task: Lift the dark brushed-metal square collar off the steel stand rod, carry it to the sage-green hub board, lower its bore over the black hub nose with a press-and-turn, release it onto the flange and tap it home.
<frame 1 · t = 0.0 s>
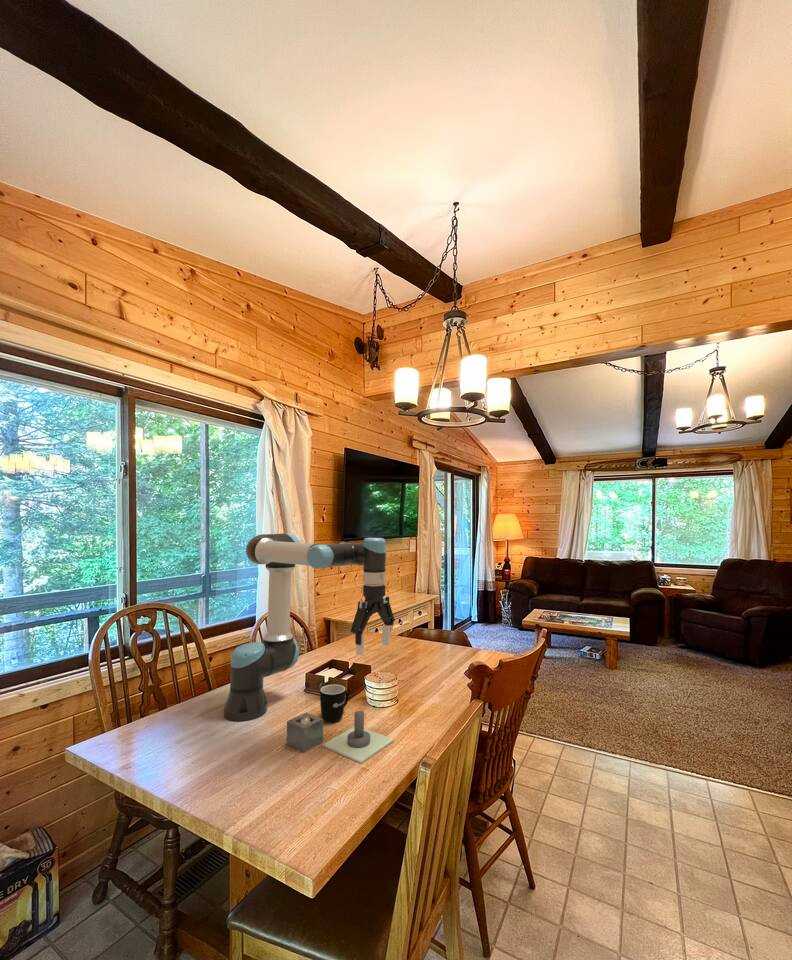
hand: (373, 649, 143), 28 cm above the table, fingers open, 13 cm apart
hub: (358, 743, 137), on the table
collar: (304, 743, 138), on the table
mug: (335, 717, 156), on the table
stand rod: (304, 743, 138), on the table
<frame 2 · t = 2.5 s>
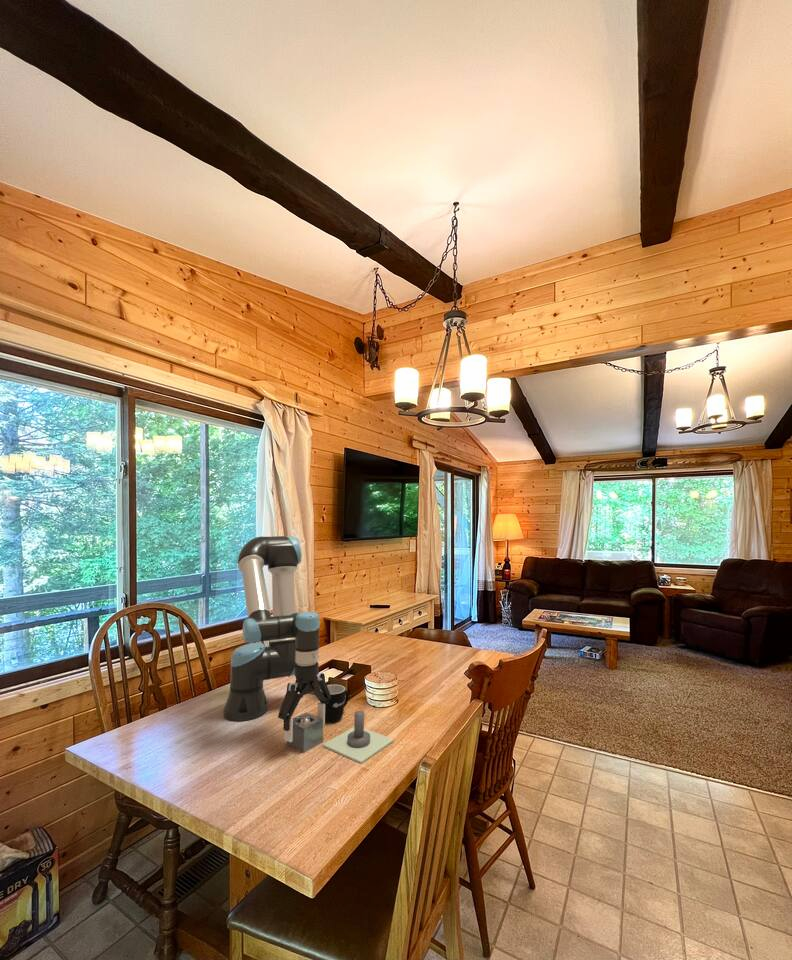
hand: (305, 732, 138), 3 cm above the table, fingers open, 13 cm apart
nothing on the table moved.
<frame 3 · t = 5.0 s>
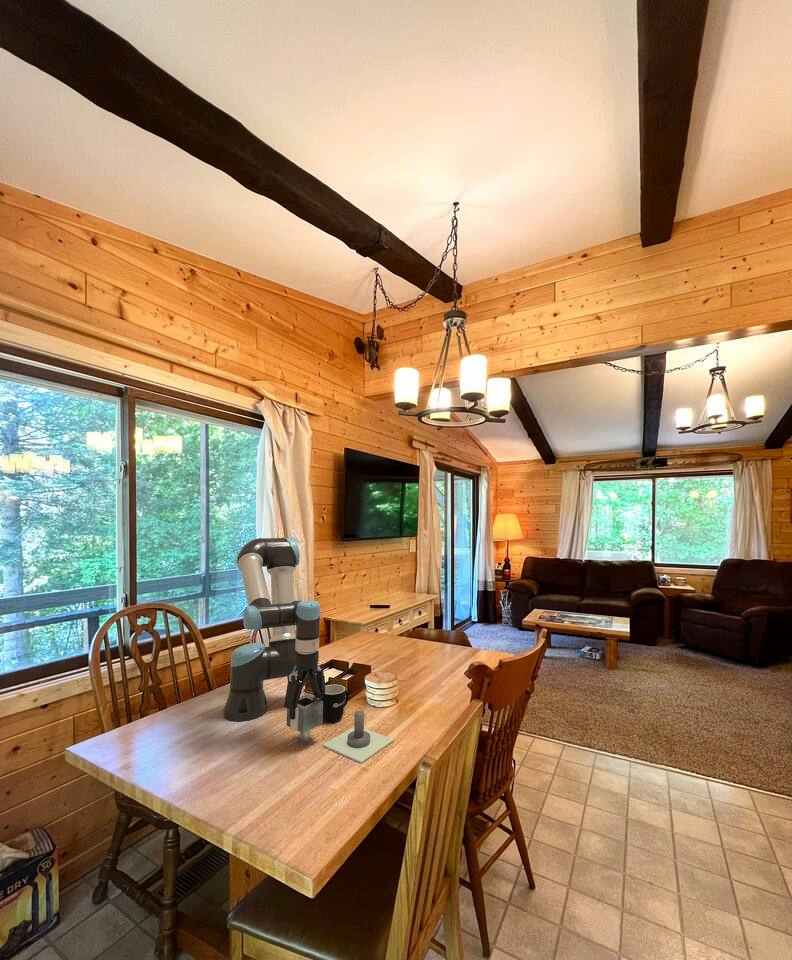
hand: (304, 723, 139), 6 cm above the table, fingers closed on collar, 8 cm apart
collar: (304, 724, 139), point 5 cm above the table, touching gripper
everything else where it was.
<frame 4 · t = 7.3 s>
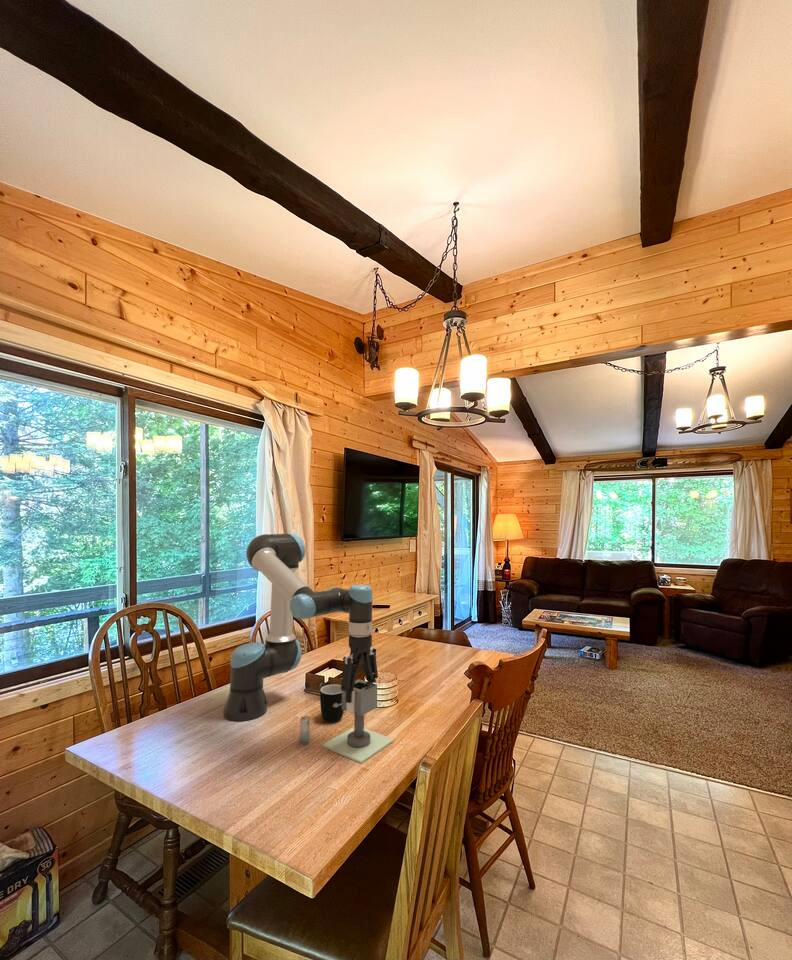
hand: (359, 707, 138), 11 cm above the table, fingers closed on collar, 8 cm apart
collar: (359, 708, 138), point 11 cm above the table, touching gripper
everything else where it was.
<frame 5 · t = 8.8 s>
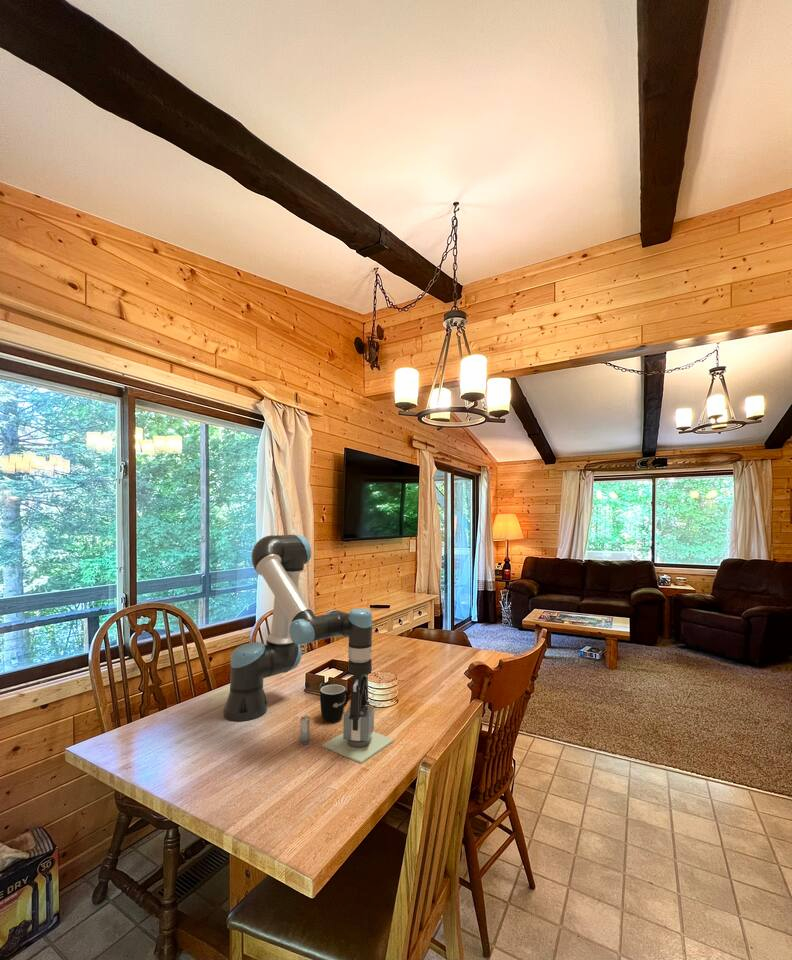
hand: (359, 733, 138), 3 cm above the table, fingers closed on collar, 8 cm apart
collar: (358, 733, 138), point 3 cm above the table, touching gripper
everything else where it was.
when the fingers open (3 cm above the table, at t = 9.7 s): collar stays where it is, resting on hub.
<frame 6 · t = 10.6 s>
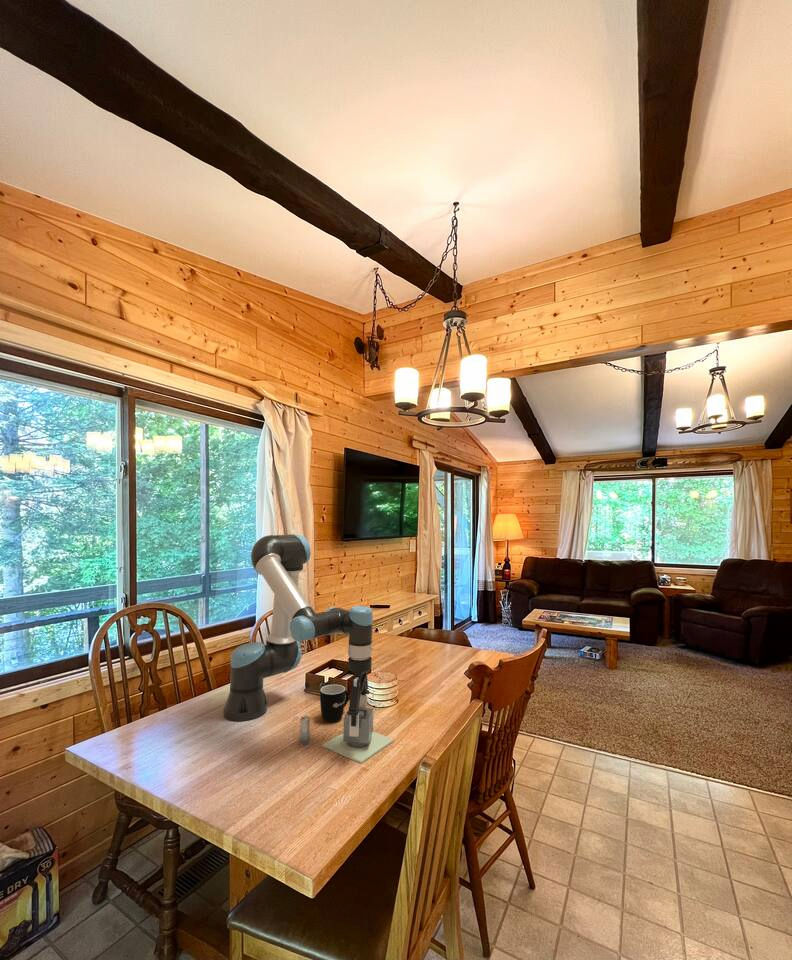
hand: (358, 725, 138), 6 cm above the table, fingers open, 13 cm apart
collar: (358, 735, 138), point 2 cm above the table, touching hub
everything else where it was.
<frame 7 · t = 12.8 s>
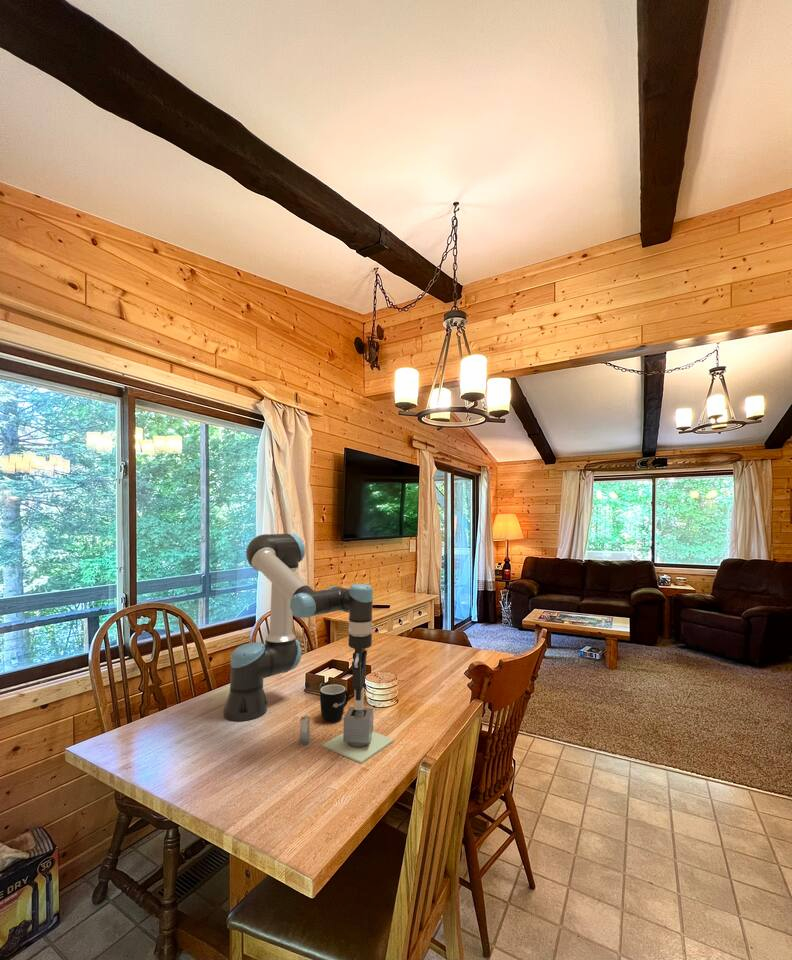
hand: (358, 709, 139), 10 cm above the table, fingers closed
nothing on the table moved.
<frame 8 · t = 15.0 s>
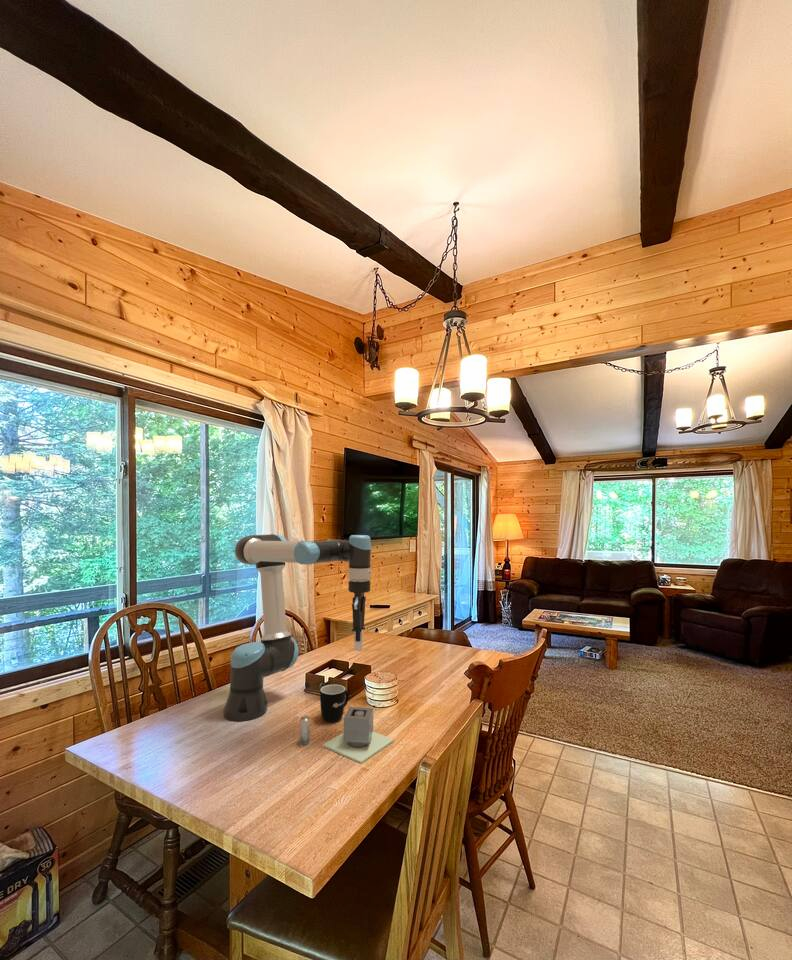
hand: (358, 650, 148), 26 cm above the table, fingers closed
nothing on the table moved.
at the end: collar 0.1 cm off-centre on the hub, point 2.4 cm above the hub's base; collar tilted 0°; the gripper is holding nothing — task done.
